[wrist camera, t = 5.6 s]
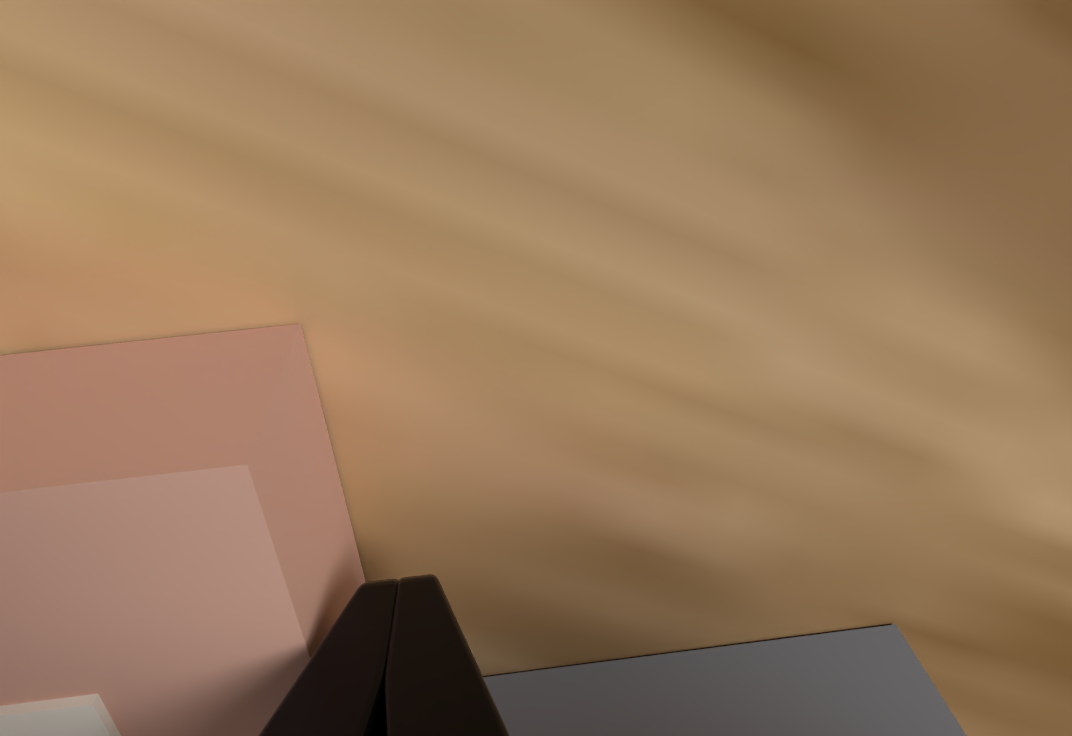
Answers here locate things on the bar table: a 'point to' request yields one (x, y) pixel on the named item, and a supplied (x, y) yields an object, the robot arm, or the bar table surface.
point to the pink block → (165, 534)
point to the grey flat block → (736, 692)
